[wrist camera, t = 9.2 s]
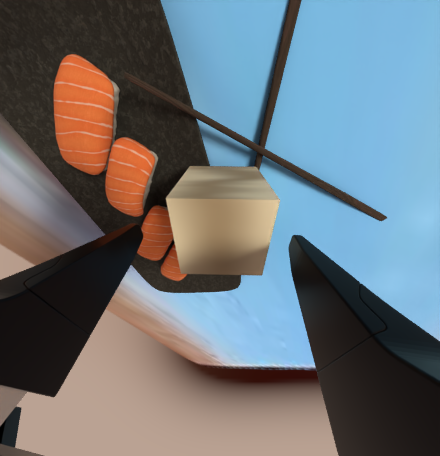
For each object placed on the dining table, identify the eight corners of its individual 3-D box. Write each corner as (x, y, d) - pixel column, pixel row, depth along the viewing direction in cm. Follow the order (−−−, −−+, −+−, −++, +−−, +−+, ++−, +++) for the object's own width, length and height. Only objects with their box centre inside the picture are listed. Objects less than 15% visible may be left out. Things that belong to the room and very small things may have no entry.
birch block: (256, 166, 12) (280, 199, 7) (249, 223, 15) (261, 275, 10) (189, 166, 12) (165, 198, 7) (195, 222, 15) (180, 273, 10)
